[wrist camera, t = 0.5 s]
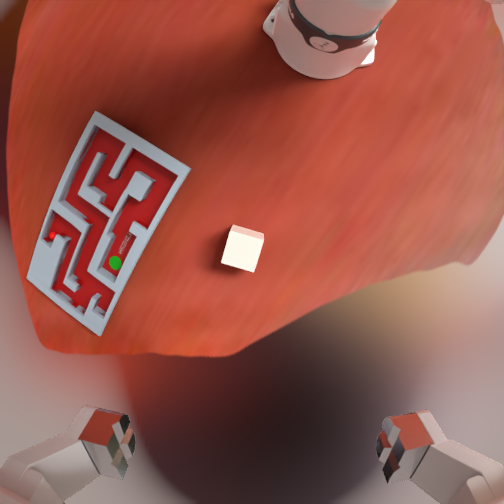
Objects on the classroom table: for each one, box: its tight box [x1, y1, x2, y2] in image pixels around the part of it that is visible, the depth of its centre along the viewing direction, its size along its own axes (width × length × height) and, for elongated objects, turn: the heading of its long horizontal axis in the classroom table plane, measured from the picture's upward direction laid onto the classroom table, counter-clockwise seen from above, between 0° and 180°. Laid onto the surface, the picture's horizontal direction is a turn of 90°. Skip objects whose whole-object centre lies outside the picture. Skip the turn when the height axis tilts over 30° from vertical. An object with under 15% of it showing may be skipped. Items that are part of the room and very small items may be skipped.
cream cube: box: [221, 225, 264, 272], centre depth 47 cm, size 5×5×5 cm
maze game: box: [27, 111, 191, 336], centre depth 48 cm, size 35×20×3 cm, turn 146°
